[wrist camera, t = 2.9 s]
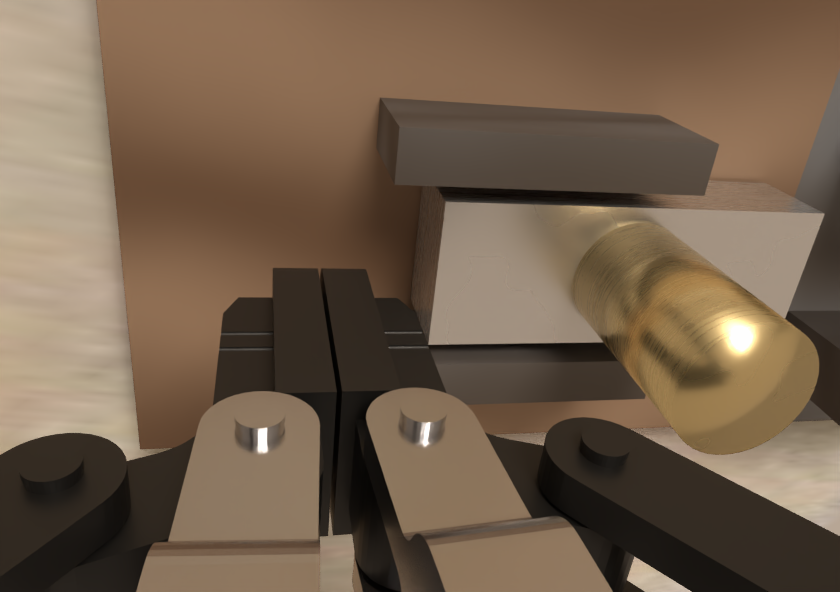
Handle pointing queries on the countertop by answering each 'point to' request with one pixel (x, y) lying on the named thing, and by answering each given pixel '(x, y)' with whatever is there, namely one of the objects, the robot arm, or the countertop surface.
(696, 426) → the lock bolt
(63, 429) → the countertop surface
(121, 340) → the countertop surface
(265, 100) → the door board
